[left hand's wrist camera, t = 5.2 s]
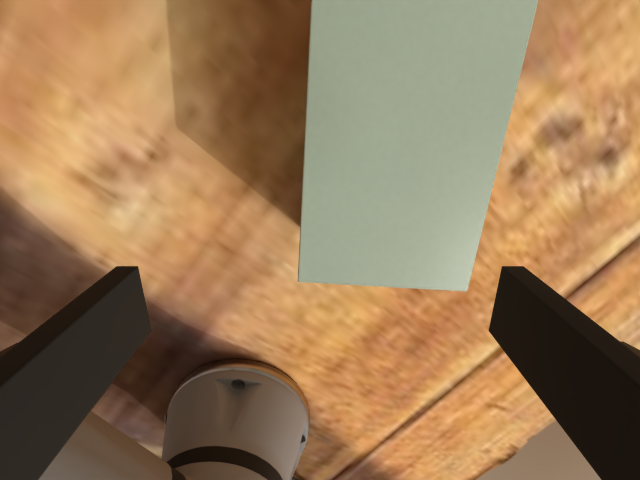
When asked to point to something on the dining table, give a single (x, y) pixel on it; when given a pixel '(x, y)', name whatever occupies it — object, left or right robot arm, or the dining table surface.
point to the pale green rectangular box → (405, 136)
